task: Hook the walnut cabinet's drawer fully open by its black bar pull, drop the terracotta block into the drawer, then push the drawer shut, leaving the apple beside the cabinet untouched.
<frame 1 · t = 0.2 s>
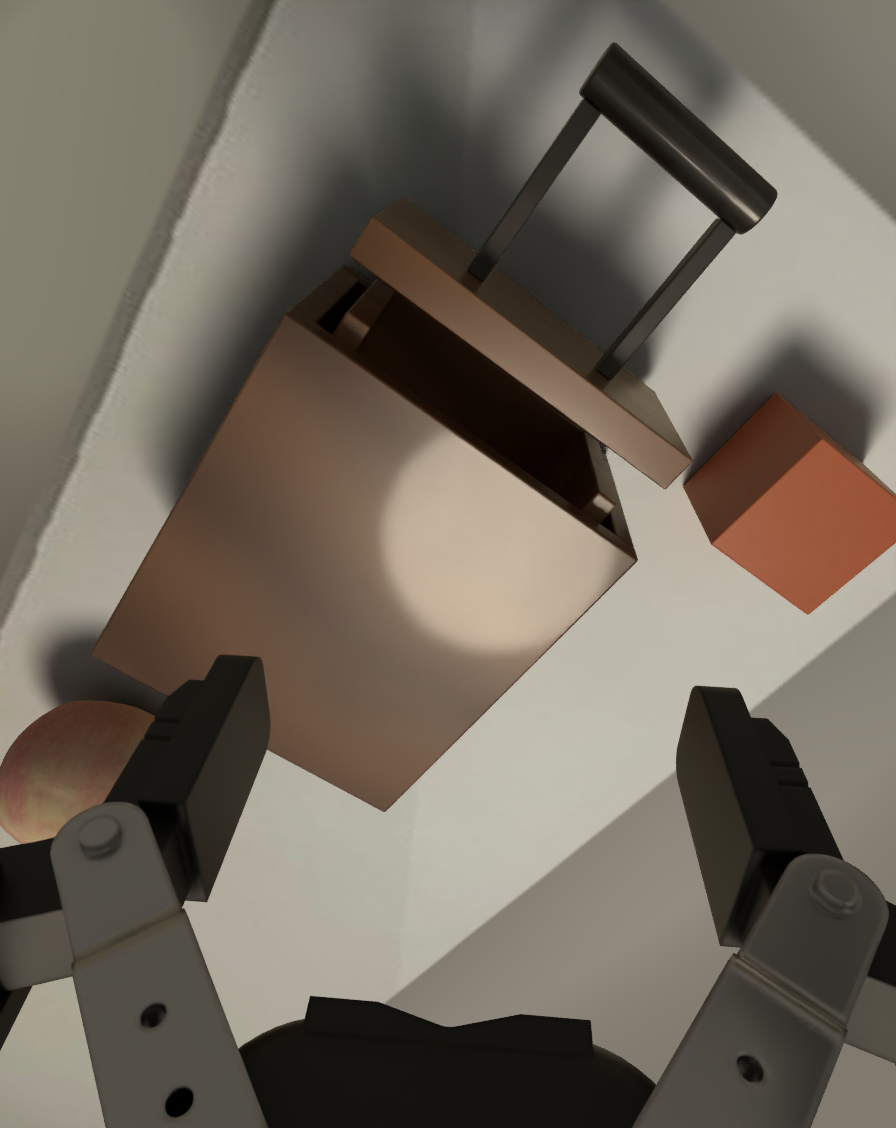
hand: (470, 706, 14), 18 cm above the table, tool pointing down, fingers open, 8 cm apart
cabinet: (382, 500, 32), on the table
apple: (131, 720, 40), on the table
block: (771, 475, 30), on the table
drawer: (476, 403, 25), point 4 cm above the table, slide at 2.0 cm
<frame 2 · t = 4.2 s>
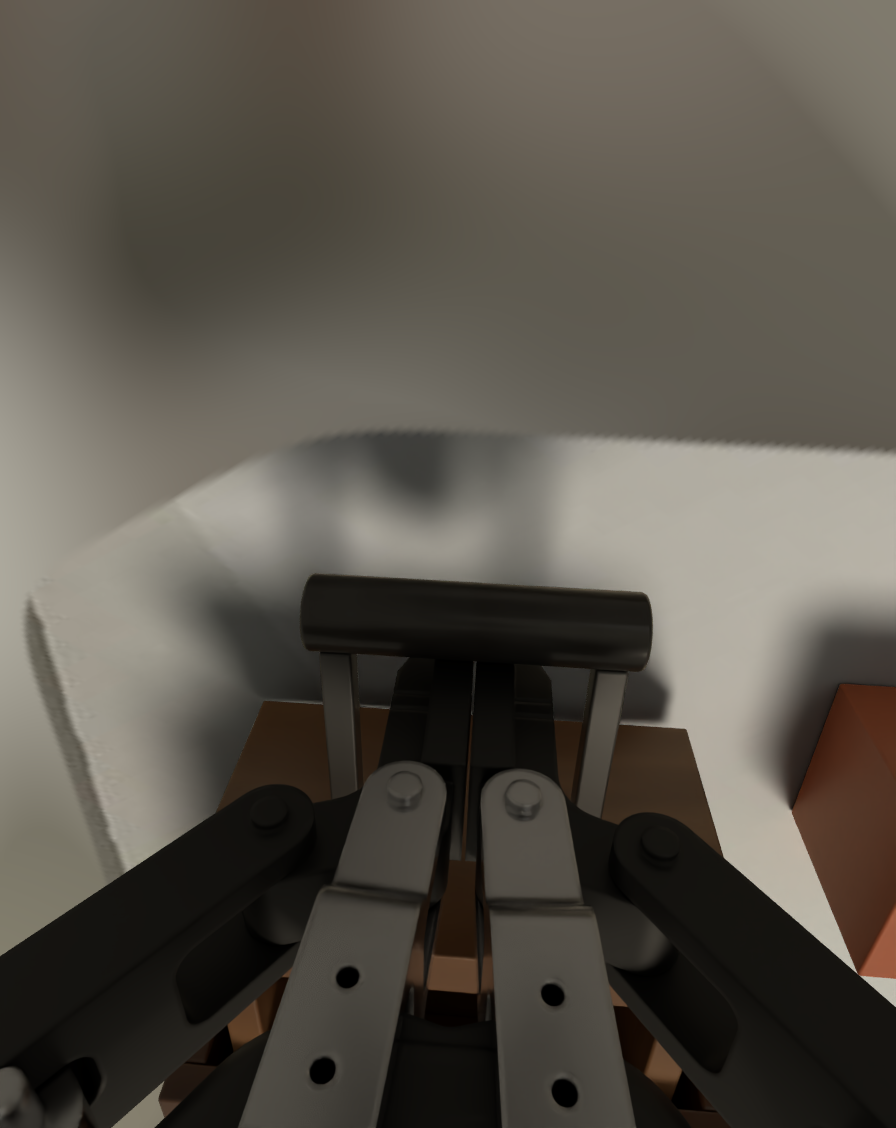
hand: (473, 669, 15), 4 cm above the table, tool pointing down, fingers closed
cabinet: (460, 946, 27), on the table
drawer: (460, 907, 19), point 4 cm above the table, slide at 3.5 cm, touching gripper
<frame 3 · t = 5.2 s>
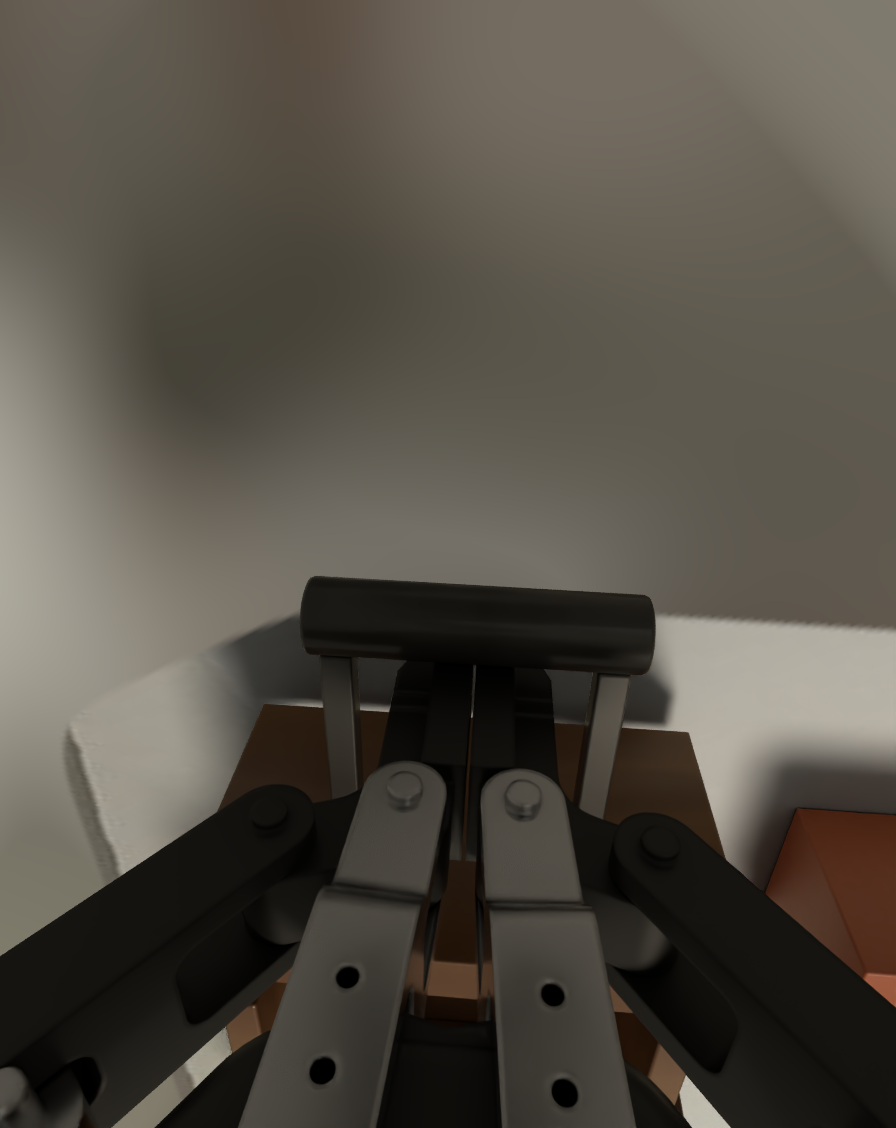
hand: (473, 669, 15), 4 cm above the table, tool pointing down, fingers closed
block: (857, 868, 23), on the table
drawer: (461, 911, 19), point 4 cm above the table, slide at 8.1 cm, touching gripper
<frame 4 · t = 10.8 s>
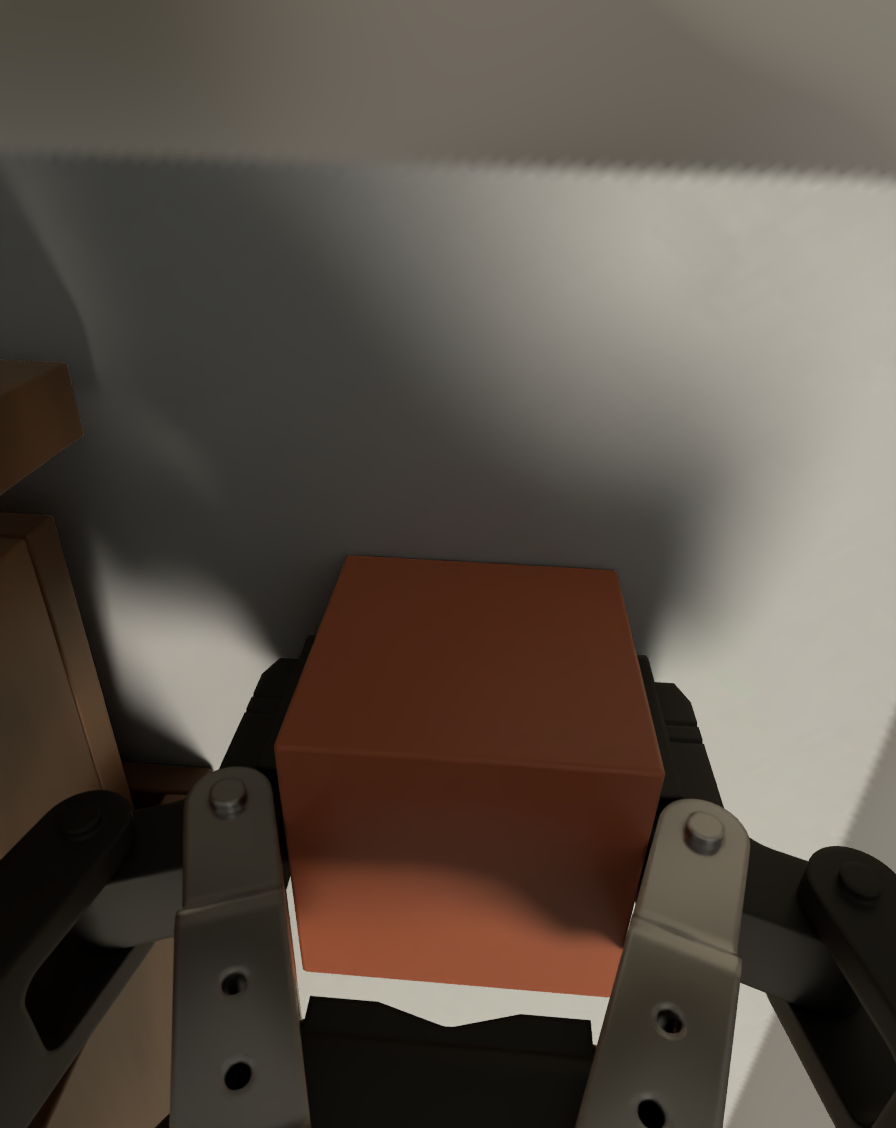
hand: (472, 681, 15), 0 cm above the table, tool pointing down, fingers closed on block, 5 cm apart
cabinet: (30, 937, 21), on the table
block: (475, 668, 15), on the table, touching gripper
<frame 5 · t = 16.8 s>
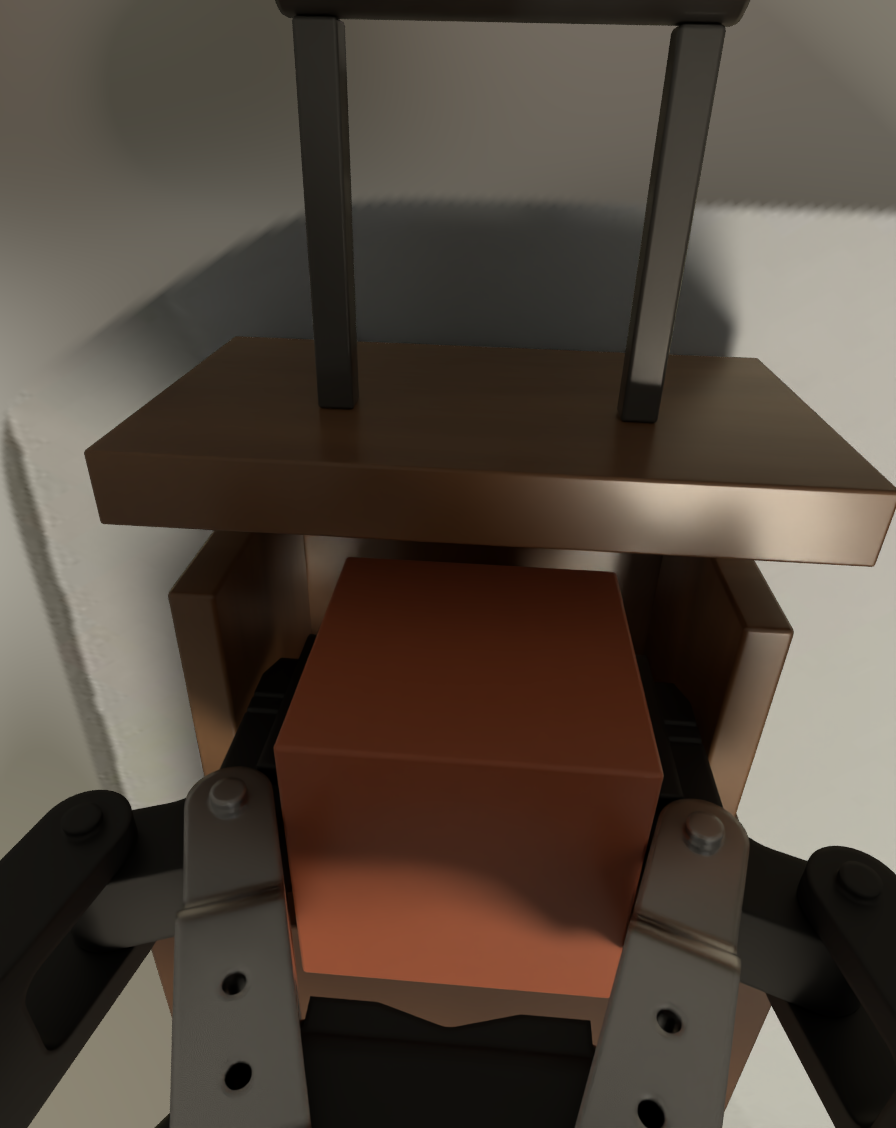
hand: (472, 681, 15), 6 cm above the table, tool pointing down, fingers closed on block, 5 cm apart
cabinet: (466, 832, 25), on the table
block: (474, 669, 15), point 5 cm above the table, touching gripper
drawer: (479, 559, 15), point 4 cm above the table, slide at 8.2 cm, touching gripper
when the fingers open (9 cm above the table, at t = 35.9 s): block drops 6 cm, resting on drawer.
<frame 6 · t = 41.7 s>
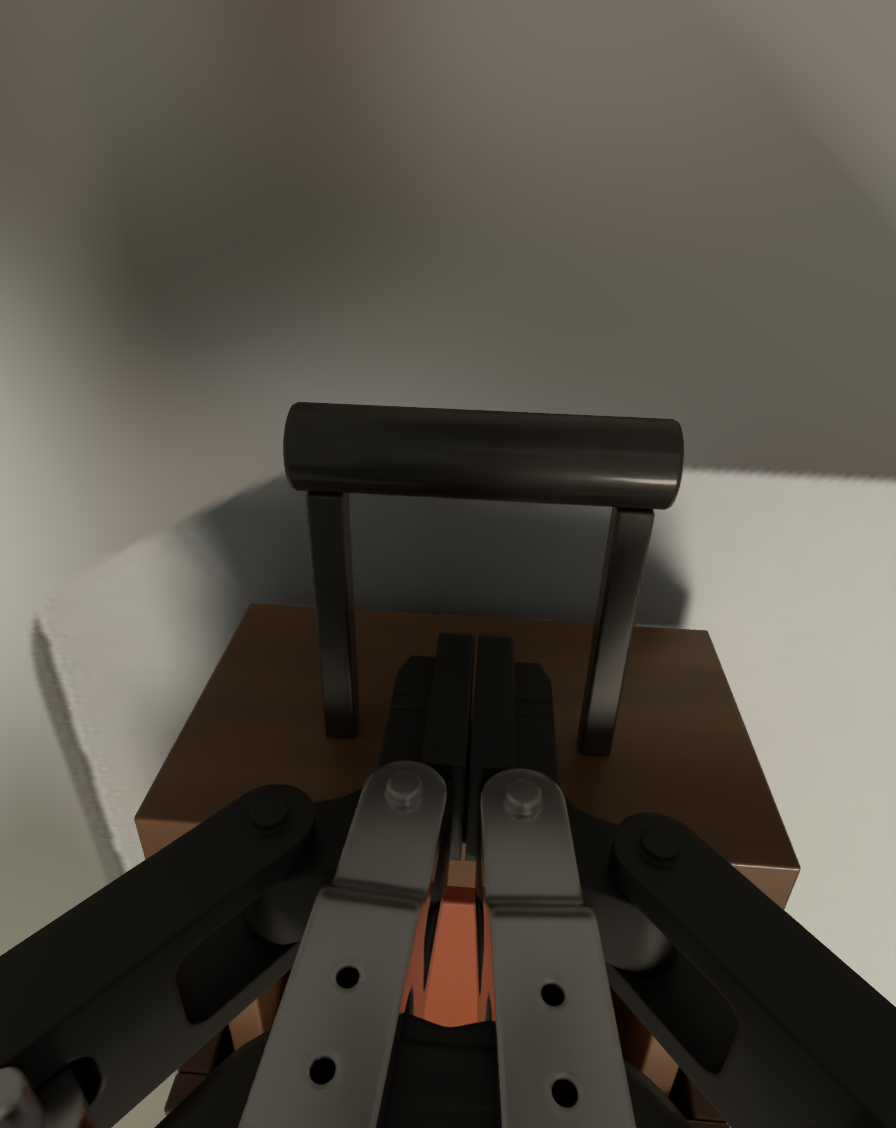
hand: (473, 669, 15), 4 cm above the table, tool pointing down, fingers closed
cabinet: (458, 955, 27), on the table
block: (466, 795, 20), point 2 cm above the table, touching drawer
drawer: (463, 819, 17), point 4 cm above the table, slide at 7.3 cm, touching block
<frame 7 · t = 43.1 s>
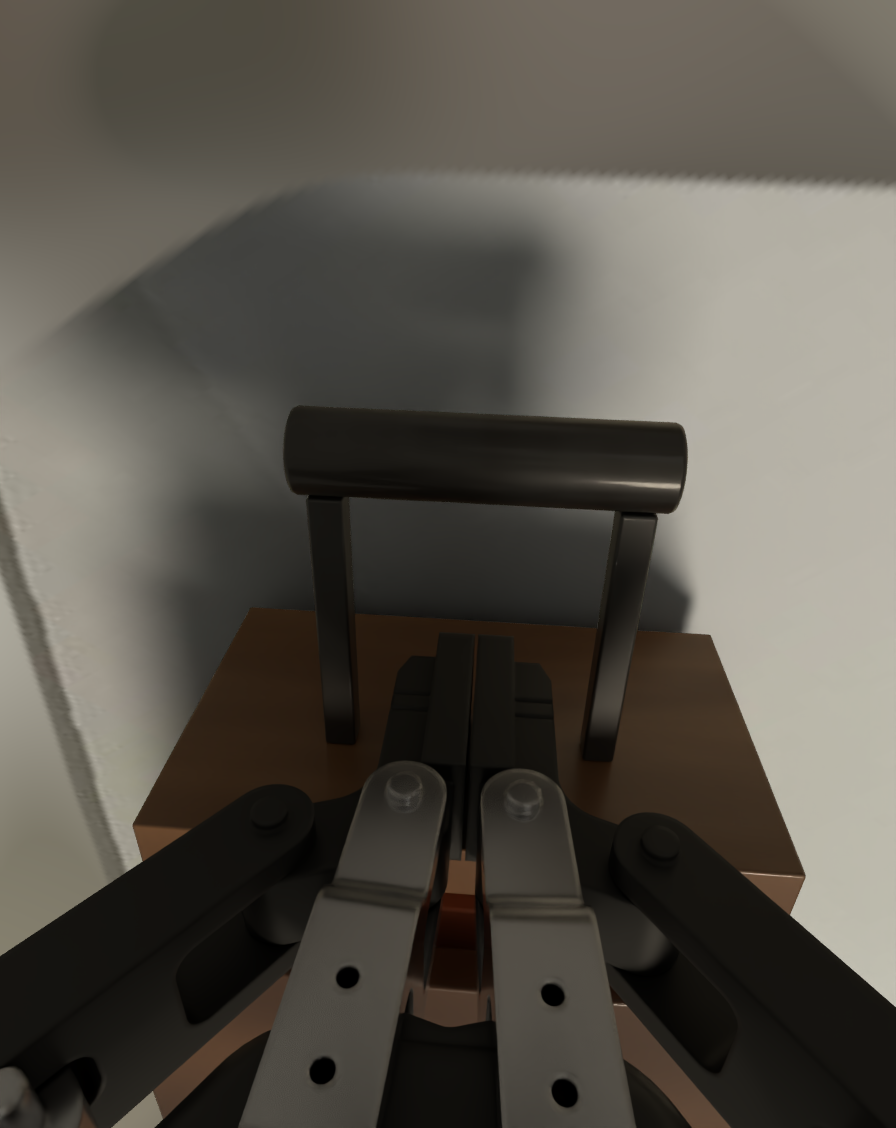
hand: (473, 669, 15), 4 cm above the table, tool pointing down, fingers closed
cabinet: (465, 853, 24), on the table
block: (467, 800, 20), point 2 cm above the table, touching drawer
drawer: (465, 824, 17), point 4 cm above the table, slide at 1.3 cm, touching block, gripper
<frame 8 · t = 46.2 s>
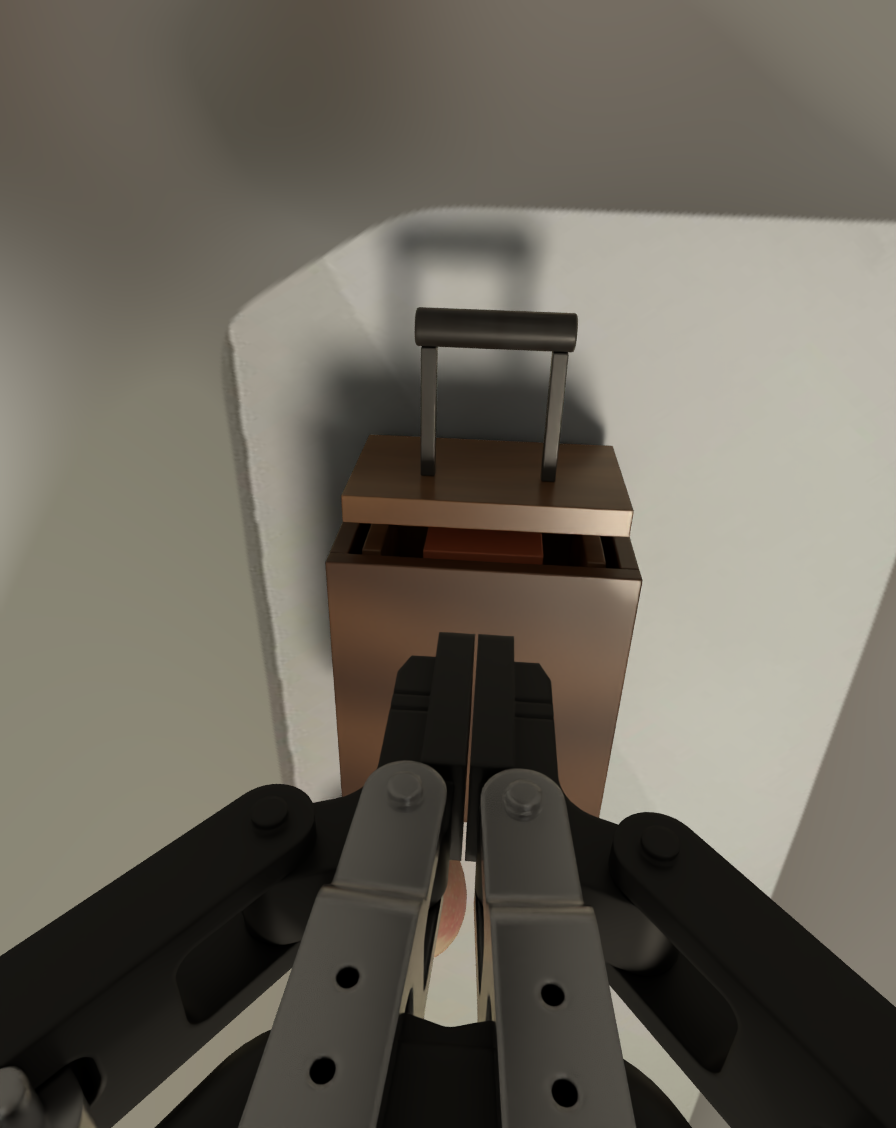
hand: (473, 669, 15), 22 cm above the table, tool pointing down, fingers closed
cabinet: (481, 604, 40), on the table
apple: (413, 836, 51), on the table
block: (484, 547, 36), point 2 cm above the table, touching drawer
drawer: (484, 538, 33), point 4 cm above the table, slide at 1.3 cm, touching block
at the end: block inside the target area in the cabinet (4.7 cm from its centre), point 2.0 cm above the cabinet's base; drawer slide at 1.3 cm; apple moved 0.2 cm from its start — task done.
